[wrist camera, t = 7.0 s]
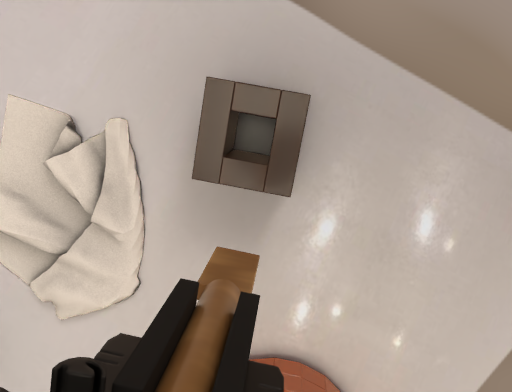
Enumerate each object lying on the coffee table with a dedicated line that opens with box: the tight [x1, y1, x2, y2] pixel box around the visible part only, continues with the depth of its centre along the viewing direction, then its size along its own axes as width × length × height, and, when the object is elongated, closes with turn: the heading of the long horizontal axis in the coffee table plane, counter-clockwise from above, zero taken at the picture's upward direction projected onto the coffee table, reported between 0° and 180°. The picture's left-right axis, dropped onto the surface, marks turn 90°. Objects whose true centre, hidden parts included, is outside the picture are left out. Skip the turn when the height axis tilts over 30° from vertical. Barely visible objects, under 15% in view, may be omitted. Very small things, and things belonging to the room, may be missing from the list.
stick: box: [155, 247, 260, 392], centre depth 17 cm, size 2×2×15 cm
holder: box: [192, 77, 310, 197], centre depth 37 cm, size 8×8×6 cm
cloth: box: [0, 94, 144, 320], centre depth 42 cm, size 20×22×2 cm
